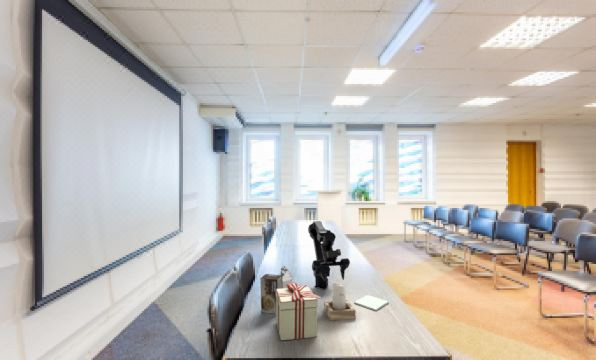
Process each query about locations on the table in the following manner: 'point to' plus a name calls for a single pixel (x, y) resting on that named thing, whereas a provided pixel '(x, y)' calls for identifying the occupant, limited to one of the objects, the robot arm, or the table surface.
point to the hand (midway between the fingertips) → (334, 280)
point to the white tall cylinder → (339, 296)
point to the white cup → (286, 281)
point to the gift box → (296, 312)
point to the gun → (286, 273)
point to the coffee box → (269, 292)
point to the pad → (371, 302)
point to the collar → (339, 311)
